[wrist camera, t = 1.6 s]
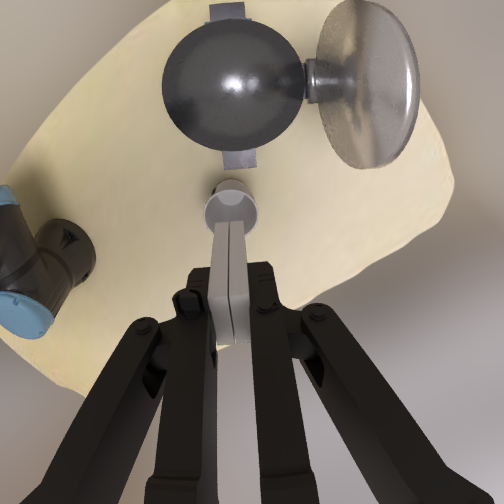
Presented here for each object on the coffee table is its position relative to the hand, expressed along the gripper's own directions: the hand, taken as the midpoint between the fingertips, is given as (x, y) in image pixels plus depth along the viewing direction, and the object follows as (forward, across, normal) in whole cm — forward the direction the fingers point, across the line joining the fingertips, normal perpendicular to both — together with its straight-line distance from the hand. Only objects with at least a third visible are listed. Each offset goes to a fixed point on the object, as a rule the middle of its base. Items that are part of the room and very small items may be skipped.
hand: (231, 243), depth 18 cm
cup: (+37, -1, -10) cm, 38 cm away
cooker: (+36, +1, +9) cm, 37 cm away
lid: (+15, +11, +9) cm, 21 cm away
